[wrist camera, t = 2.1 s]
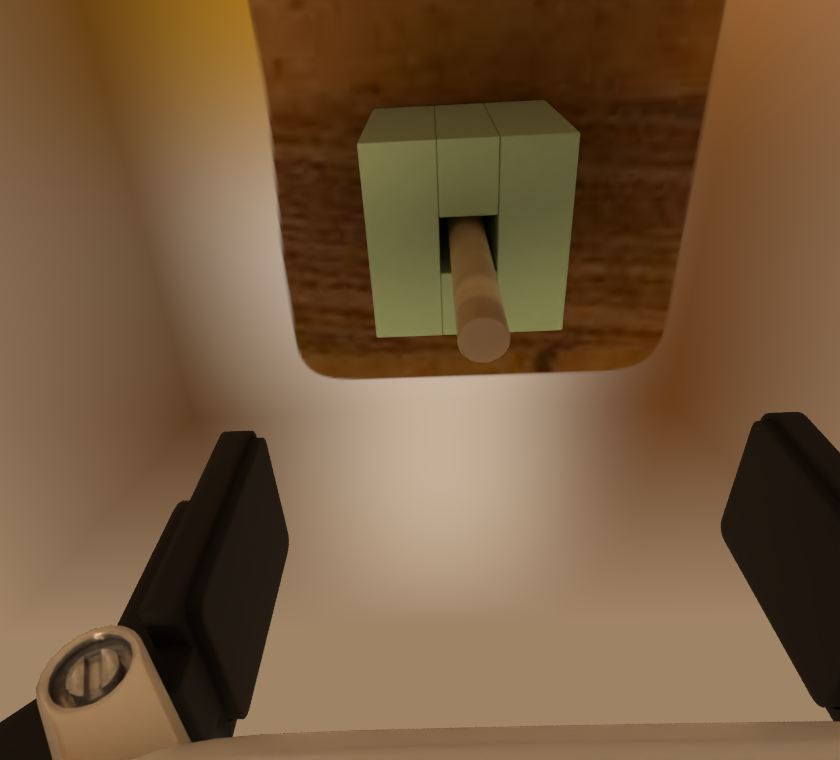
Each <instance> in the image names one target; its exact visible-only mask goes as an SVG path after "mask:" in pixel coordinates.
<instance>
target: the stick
mask: <svg viewBox="0 0 840 760" xmlns="http://www.w3.org/2000/svg"><path fill="white" fill-rule="evenodd" d="M447 225H448V237H449V248H450V260H451V272H452V284H453V296H454V308H455V320H456V332H457V344H458V347H459V350H460V351H461V353H462V354H463V355H464V356H465V357H466V358H468V359H470V360H472V361H475V362H480V363H485V362H491V361H494V360H496V359H498V358H499V357H501V356H502V355H503V354H504V353H505V352H506V350H507V349H508V347H509V344H510V331H509V327H508V323H507V319H506V315H505V311H504V307H503V302H502V298H501V294H500V290H499V286H498V282H497V277H496V273H495V269H494V265H493V261H492V257H491V252H490V248H489V244H488V240H487V236H486V232H485V228H484V223H483V219H482V216H462V217H447Z"/></svg>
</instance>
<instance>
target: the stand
mask: <svg viewBox="0 0 840 760" xmlns="http://www.w3.org/2000/svg"><path fill="white" fill-rule="evenodd" d="M579 143H580V132H579V131H578V130H577V129H576V128H575V127H573V126H572V125H571V124H570V123H569V122H568V121H567V120H566V119H565V118H564V117H563V116H561V115H560V114H559V113H558V112H557V111H556V110H555V109H554V108H553V107H552V106H551V105H550V104H548V103H547V102H546V101H545V100H533V101H514V102H495V103H484V104H483V103H475V104H456V105H437V106H435V107H434V106H417V107H398V108H380V109H373V111H372V113H371V115H370V117H369V120H368V122H367V124H366V126H365V128H364V130H363V132H362V134H361V137H360V139H359V141H358V143H357V150H358V160H359V170H360V179H361V189H362V199H363V208H364V218H365V228H366V237H367V247H368V257H369V266H370V276H371V286H372V295H373V305H374V315H375V324H376V334H377V337H403V336H429V335H442V334H443V335H450V334H457V332H456V320H455V308H454V296H453V284H452V272H451V260H450V248H449V237H448V225H447V217H462V216H482V219H483V223H484V228H485V232H486V236H487V240H488V244H489V248H490V252H491V257H492V261H493V265H494V269H495V273H496V277H497V282H498V286H499V290H500V294H501V298H502V302H503V307H504V311H505V315H506V319H507V323H508V327H509V331H510V332H524V331H550V330H562V326H563V315H564V305H565V294H566V283H567V272H568V262H569V251H570V240H571V229H572V219H573V208H574V197H575V186H576V176H577V165H578V154H579Z"/></svg>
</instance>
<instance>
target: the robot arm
mask: <svg viewBox="0 0 840 760" xmlns="http://www.w3.org/2000/svg"><path fill="white" fill-rule="evenodd" d="M721 532H722V536H723V539H724V541H725V543H726V544H727V546H728V548H729V550H730V552H731V553H732V555H733V557H734V559H735V561H736V562H737V564H738V566H739V568H740V570H741V571H742V573H743V575H744V577H745V579H746V580H747V582H748V584H749V586H750V588H751V589H752V591H753V593H754V595H755V597H756V598H757V600H758V602H759V604H760V606H761V607H762V609H763V611H764V613H765V614H766V616H767V618H768V620H769V621H770V623H771V625H772V627H773V629H774V631H775V632H776V634H777V636H778V637H779V639H780V641H781V643H782V645H783V647H784V649H785V650H786V652H787V654H788V656H789V657H790V659H791V661H792V663H793V665H794V666H795V668H796V670H797V672H798V674H799V675H800V677H801V679H802V681H803V683H804V684H805V686H806V688H807V690H808V692H809V693H810V695H811V697H812V698H813V700H814V701H815V702H816V703H817V704H818V705H819V706H821V707H826V709H827V711H828V712H829V714H830V716H831V718H832V719H833V721H822V722H821V721H820V722H748V723H686V724H685V723H680V724H679V723H678V724H677V723H676V724H624V725H623V724H622V725H572V726H571V725H570V726H523V727H522V726H520V727H478V728H477V727H475V728H436V729H396V730H355V731H354V730H353V731H331V732H307V733H283V734H261V735H250V736H239V737H233V733H234V729H235V725H236V721H237V719H244V718H245V717H246V716H247V714H248V711H249V708H250V704H251V700H252V696H253V691H254V687H255V683H256V679H257V675H258V671H259V667H260V663H261V659H262V655H263V651H264V647H265V643H266V638H267V635H268V630H269V626H270V622H271V618H272V614H273V610H274V606H275V602H276V598H277V594H278V590H279V586H280V582H281V577H282V573H283V569H284V565H285V561H286V557H287V553H288V545H289V538H288V532H287V527H286V523H285V518H284V514H283V510H282V506H281V502H280V498H279V494H278V489H277V486H276V481H275V477H274V473H273V468H272V465H271V460H270V456H269V452H268V448H267V444H266V440H265V439H264V438H257V437H256V434H255V433H254V431H230V432H223V433H222V434H221V435H220V437H219V440H218V442H217V444H216V446H215V448H214V450H213V452H212V454H211V456H210V459H209V461H208V463H207V465H206V467H205V469H204V472H203V474H202V476H201V478H200V480H199V482H198V484H197V487H196V489H195V491H194V493H193V495H192V497H191V500H189V501H182V502H180V503H178V504H177V506H176V507H175V509H174V511H173V513H172V515H171V517H170V519H169V521H168V523H167V525H166V527H165V529H164V531H163V533H162V535H161V537H160V540H159V541H158V543H157V545H156V547H155V549H154V551H153V553H152V555H151V558H150V559H149V562H148V564H147V566H146V568H145V570H144V572H143V574H142V576H141V578H140V580H139V582H138V584H137V586H136V588H135V590H134V592H133V594H132V596H131V598H130V600H129V603H128V604H127V607H126V609H125V610H124V613H123V615H122V617H121V619H120V621H119V623H118V625H117V626H114V625H109V626H104V627H100V628H95V629H92V630H90V631H88V632H86V633H84V634H81V635H80V636H77V637H76V638H75V639H73V640H72V641H70V642H69V643H67V644H66V645H64V646H63V647H62V648H61V649H60V650H59V651H58V652H57V653H56V654H55V655H54V656H53V657H52V658H51V659H50V661H49V662H48V664H47V665H46V667H45V669H44V670H43V672H42V673H41V675H40V679H39V681H38V684H37V688H36V697H37V698H36V699H35V700H33V701H32V702H30V703H29V704H27V705H26V706H24V707H23V708H21V709H20V710H18V711H17V712H15V713H14V714H12V715H11V716H9V717H8V718H6V719H5V720H3V721H2V722H0V760H840V453H839V451H838V450H837V449H836V448H835V447H834V446H833V445H832V444H831V443H830V442H829V441H828V439H827V438H826V437H825V436H824V435H823V434H822V433H821V432H820V431H819V430H818V429H817V428H816V426H815V425H814V424H813V423H812V422H811V421H810V420H809V419H808V418H807V417H806V416H805V415H804V414H802V413H800V412H783V413H767V414H765V415H764V416H763V417H762V418H761V420H760V421H757V422H755V423H754V424H753V426H752V428H751V431H750V434H749V437H748V440H747V443H746V446H745V449H744V452H743V456H742V458H741V462H740V465H739V468H738V471H737V474H736V477H735V480H734V483H733V486H732V489H731V493H730V496H729V499H728V502H727V505H726V508H725V511H724V514H723V517H722V521H721Z"/></svg>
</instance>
